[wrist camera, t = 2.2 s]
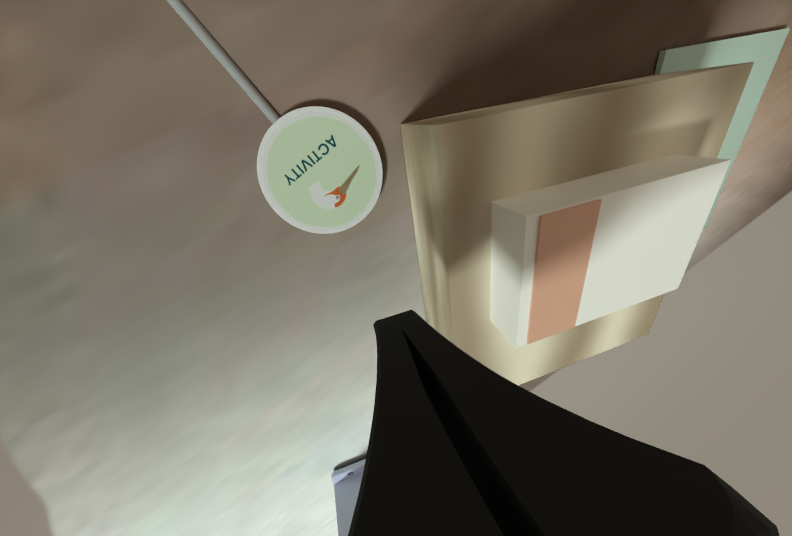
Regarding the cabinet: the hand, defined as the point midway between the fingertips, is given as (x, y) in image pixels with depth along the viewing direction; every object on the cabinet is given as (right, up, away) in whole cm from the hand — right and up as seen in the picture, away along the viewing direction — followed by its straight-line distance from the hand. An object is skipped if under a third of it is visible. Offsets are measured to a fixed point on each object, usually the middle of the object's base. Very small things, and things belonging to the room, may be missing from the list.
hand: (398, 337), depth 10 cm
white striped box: (+8, +4, +4) cm, 10 cm away
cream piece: (+8, +4, +8) cm, 12 cm away
